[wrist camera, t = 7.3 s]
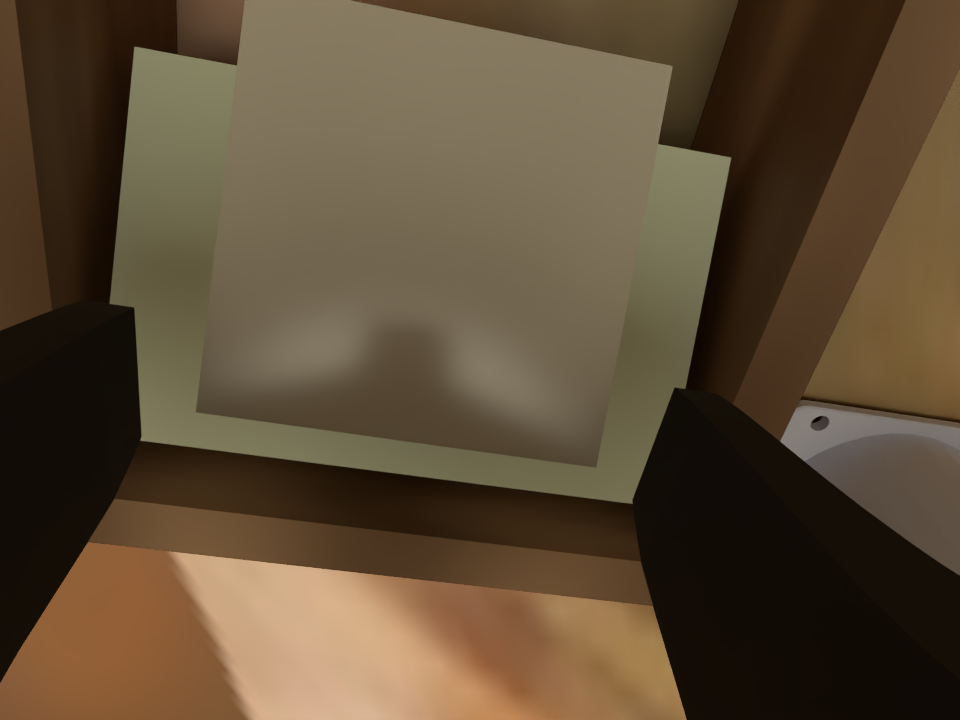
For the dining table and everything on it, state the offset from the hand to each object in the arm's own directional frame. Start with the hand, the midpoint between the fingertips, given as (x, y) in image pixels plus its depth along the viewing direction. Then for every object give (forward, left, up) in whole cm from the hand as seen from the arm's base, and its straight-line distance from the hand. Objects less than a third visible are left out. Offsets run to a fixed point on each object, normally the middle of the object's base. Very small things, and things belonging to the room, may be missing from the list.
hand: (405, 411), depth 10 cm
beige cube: (0, -2, -2) cm, 3 cm away
